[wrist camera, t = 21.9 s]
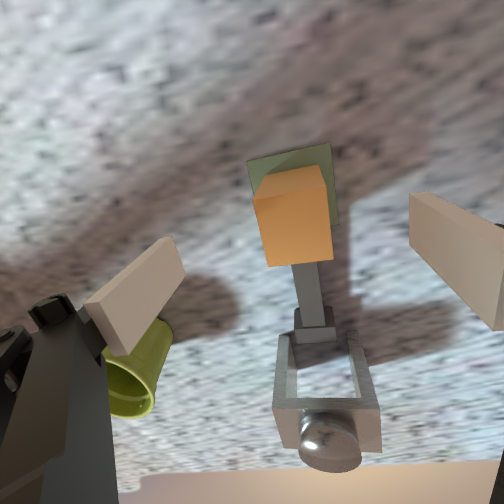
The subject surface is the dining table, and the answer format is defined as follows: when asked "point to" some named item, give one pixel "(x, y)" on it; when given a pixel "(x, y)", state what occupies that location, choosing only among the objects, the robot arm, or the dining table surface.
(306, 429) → the housing
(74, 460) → the robot arm
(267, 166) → the mat
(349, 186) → the dining table surface
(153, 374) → the plant pot
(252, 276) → the dining table surface
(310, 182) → the plug
